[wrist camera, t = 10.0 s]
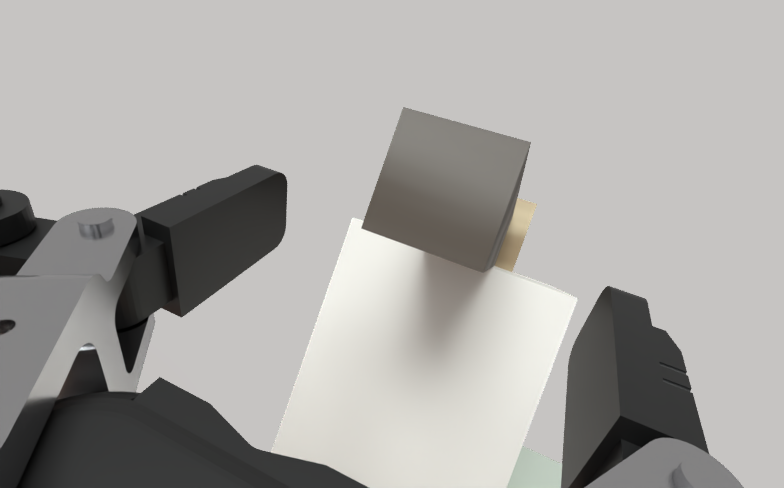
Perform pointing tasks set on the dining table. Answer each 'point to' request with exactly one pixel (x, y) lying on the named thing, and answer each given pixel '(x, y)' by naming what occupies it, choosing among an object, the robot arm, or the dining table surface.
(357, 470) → the riser
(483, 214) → the block
